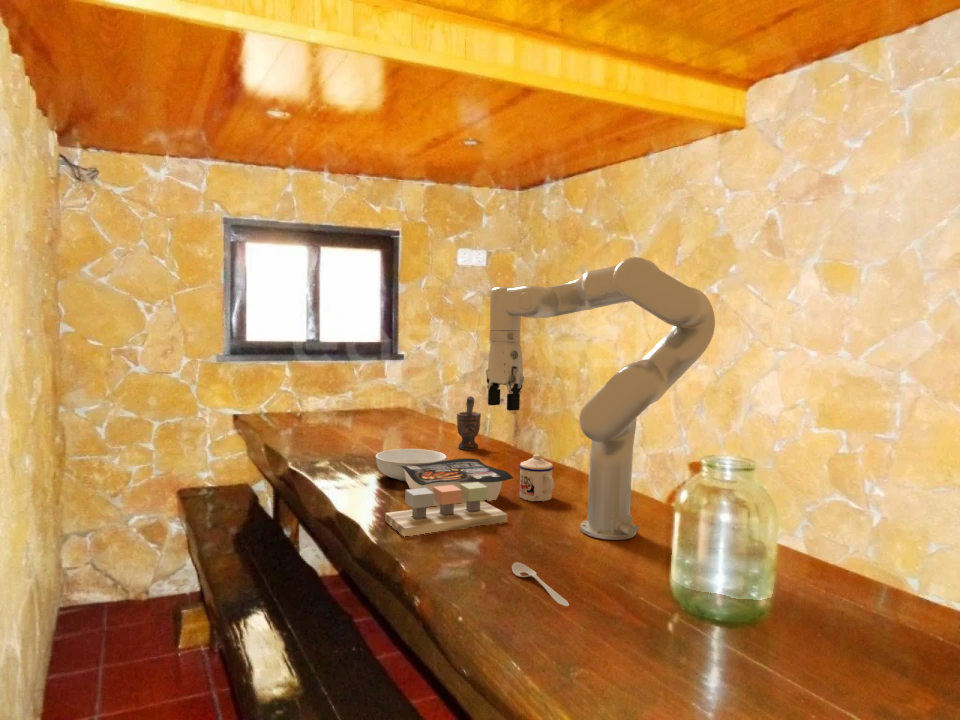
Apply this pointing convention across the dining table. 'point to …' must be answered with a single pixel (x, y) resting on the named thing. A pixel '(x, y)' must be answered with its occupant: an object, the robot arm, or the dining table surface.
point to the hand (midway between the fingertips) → (503, 407)
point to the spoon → (520, 568)
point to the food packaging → (456, 476)
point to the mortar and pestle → (468, 426)
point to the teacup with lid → (536, 479)
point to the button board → (444, 519)
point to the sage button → (474, 494)
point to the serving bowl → (405, 460)
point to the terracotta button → (447, 497)
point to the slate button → (419, 501)
